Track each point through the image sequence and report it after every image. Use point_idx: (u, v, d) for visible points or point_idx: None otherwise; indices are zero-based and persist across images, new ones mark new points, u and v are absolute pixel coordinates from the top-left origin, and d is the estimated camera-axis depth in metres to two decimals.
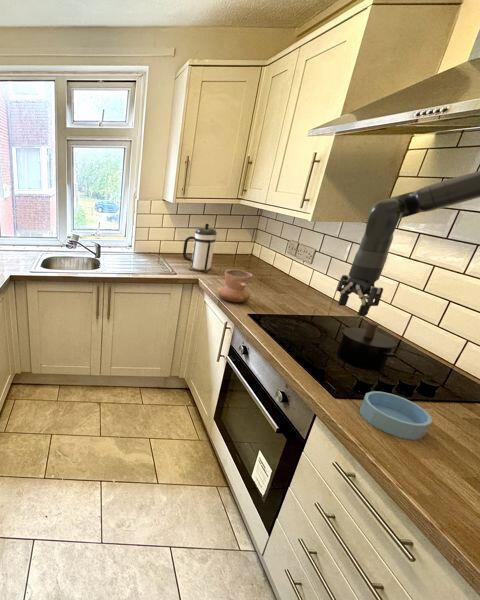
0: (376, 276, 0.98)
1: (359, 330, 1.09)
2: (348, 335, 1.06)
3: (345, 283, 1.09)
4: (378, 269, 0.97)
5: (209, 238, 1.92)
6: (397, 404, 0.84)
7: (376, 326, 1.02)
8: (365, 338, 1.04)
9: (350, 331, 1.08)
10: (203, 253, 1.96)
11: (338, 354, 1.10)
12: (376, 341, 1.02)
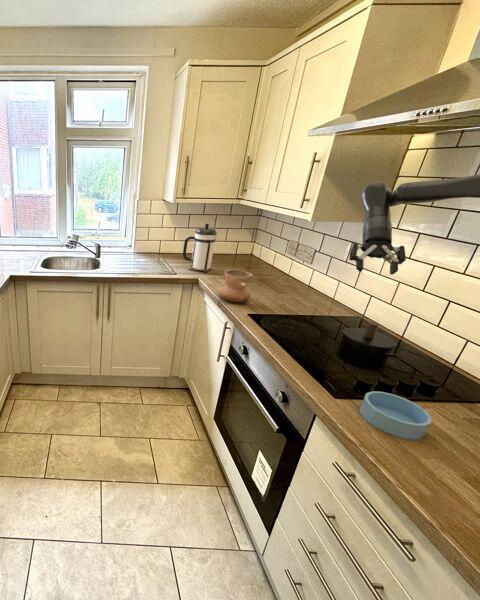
0: None
1: (359, 330, 1.09)
2: (348, 335, 1.06)
3: None
4: None
5: (209, 238, 1.92)
6: (397, 404, 0.84)
7: (376, 326, 1.02)
8: (365, 338, 1.04)
9: (350, 331, 1.08)
10: (203, 253, 1.96)
11: (338, 354, 1.10)
12: (376, 341, 1.02)
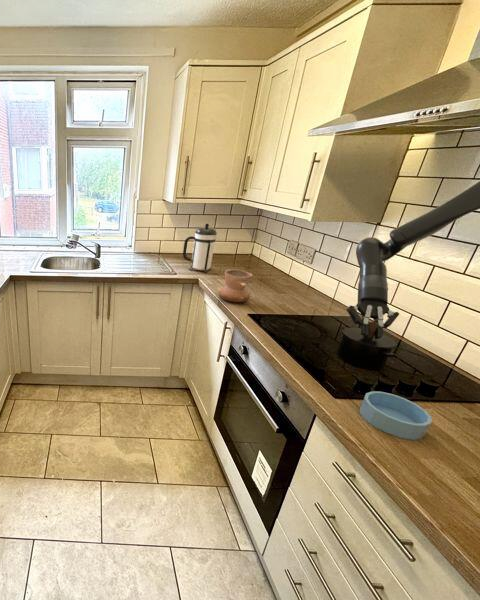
0: None
1: (359, 330, 1.09)
2: (348, 335, 1.06)
3: None
4: None
5: (209, 238, 1.92)
6: (397, 404, 0.84)
7: (376, 326, 1.02)
8: (365, 338, 1.04)
9: (350, 331, 1.08)
10: (203, 253, 1.96)
11: (338, 354, 1.10)
12: (376, 341, 1.02)
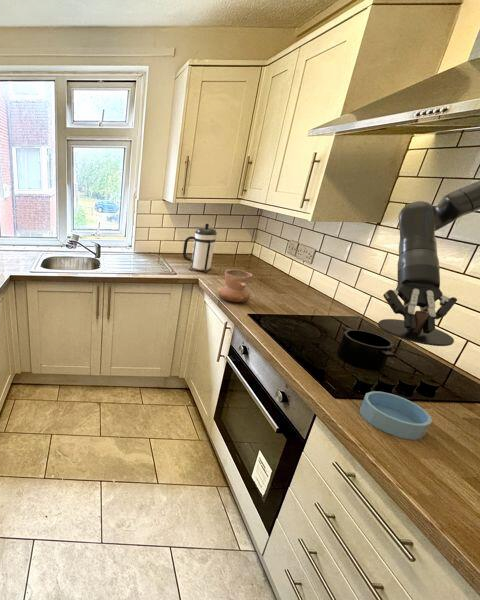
0: None
1: (400, 322, 0.84)
2: (387, 328, 0.80)
3: None
4: None
5: (209, 238, 1.92)
6: (397, 404, 0.84)
7: (426, 316, 0.77)
8: (410, 332, 0.78)
9: (388, 323, 0.83)
10: (203, 253, 1.96)
11: (338, 354, 1.10)
12: (426, 336, 0.77)
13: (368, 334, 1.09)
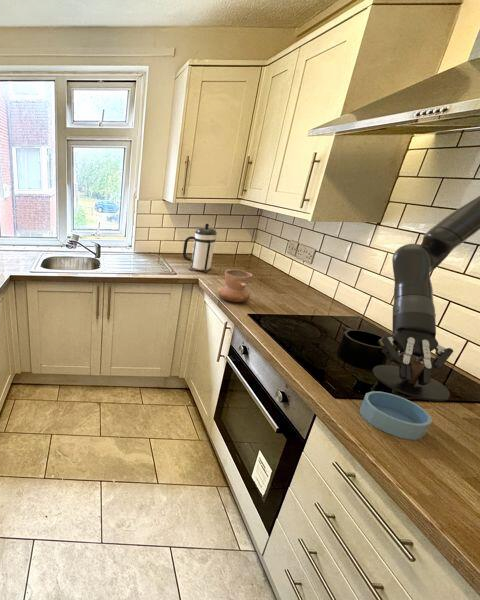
0: None
1: (395, 369, 0.81)
2: (381, 378, 0.78)
3: None
4: None
5: (209, 238, 1.92)
6: (397, 404, 0.84)
7: (421, 368, 0.74)
8: (405, 383, 0.76)
9: (383, 371, 0.81)
10: (203, 253, 1.96)
11: (338, 354, 1.10)
12: (421, 388, 0.74)
13: (368, 334, 1.09)
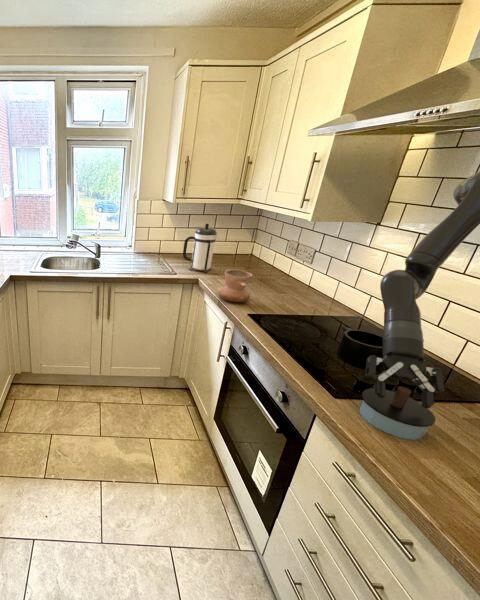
0: None
1: None
2: (370, 402, 0.81)
3: None
4: None
5: (209, 238, 1.92)
6: None
7: (408, 394, 0.77)
8: (393, 408, 0.79)
9: (372, 395, 0.83)
10: (203, 253, 1.96)
11: (338, 354, 1.10)
12: (408, 413, 0.77)
13: (368, 334, 1.09)
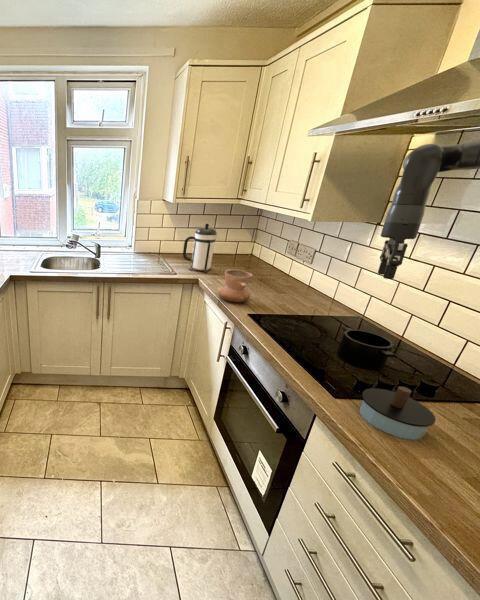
0: None
1: (383, 393, 0.84)
2: (370, 402, 0.81)
3: None
4: None
5: (209, 238, 1.92)
6: None
7: (408, 394, 0.77)
8: (393, 408, 0.79)
9: (372, 395, 0.83)
10: (203, 253, 1.96)
11: (338, 354, 1.10)
12: (408, 413, 0.77)
13: (368, 334, 1.09)
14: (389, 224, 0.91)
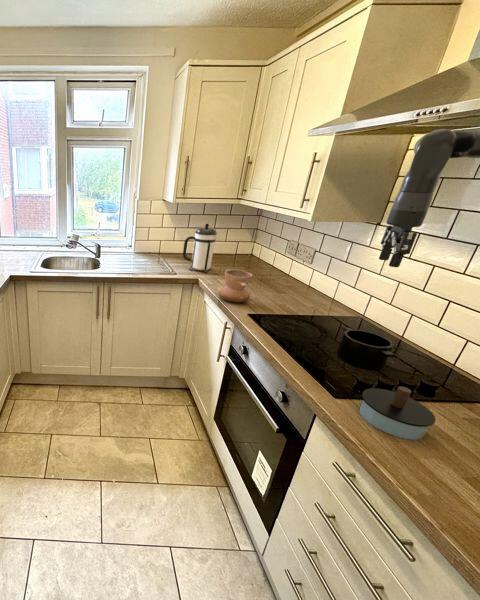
0: None
1: (383, 393, 0.84)
2: (370, 402, 0.81)
3: None
4: None
5: (209, 238, 1.92)
6: None
7: (408, 394, 0.77)
8: (393, 408, 0.79)
9: (372, 395, 0.83)
10: (203, 253, 1.96)
11: (338, 354, 1.10)
12: (408, 413, 0.77)
13: (368, 334, 1.09)
14: (397, 212, 0.90)
